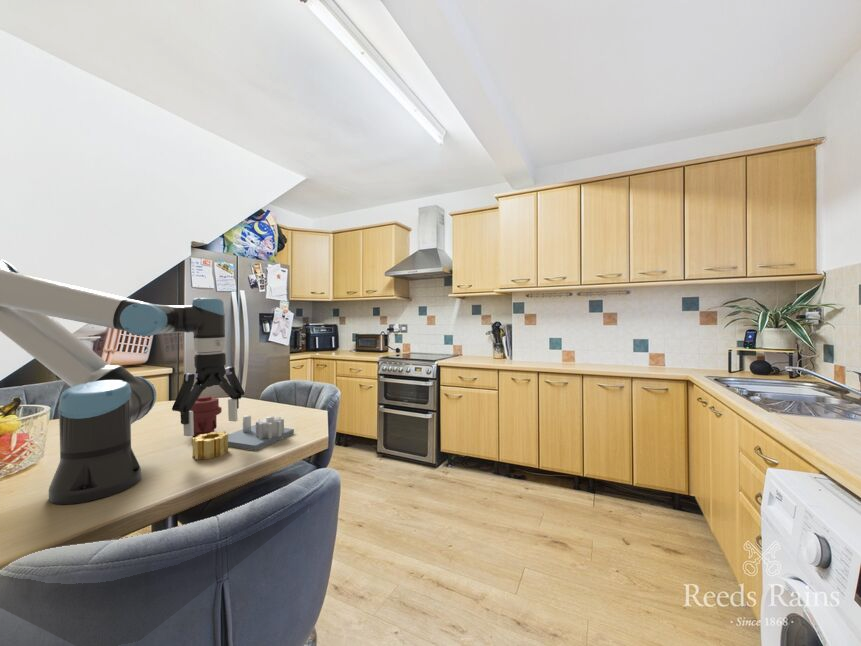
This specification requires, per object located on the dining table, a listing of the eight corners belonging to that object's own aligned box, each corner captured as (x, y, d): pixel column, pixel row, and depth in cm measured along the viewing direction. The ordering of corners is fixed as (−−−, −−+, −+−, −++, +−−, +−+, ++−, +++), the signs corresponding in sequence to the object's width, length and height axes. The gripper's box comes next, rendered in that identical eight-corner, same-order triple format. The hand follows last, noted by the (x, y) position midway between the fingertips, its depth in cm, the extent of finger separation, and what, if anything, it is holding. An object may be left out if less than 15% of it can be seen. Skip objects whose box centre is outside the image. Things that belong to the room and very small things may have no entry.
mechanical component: (201, 428, 122) (228, 429, 121) (178, 438, 112) (207, 439, 111) (201, 393, 122) (228, 394, 121) (177, 400, 112) (206, 400, 111)
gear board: (257, 451, 101) (257, 426, 101) (214, 444, 107) (214, 421, 107) (295, 433, 116) (295, 412, 116) (256, 428, 122) (256, 408, 122)
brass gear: (207, 461, 94) (207, 443, 94) (185, 457, 97) (185, 439, 97) (235, 450, 102) (234, 433, 102) (213, 446, 105) (213, 430, 105)
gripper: (174, 358, 86) (177, 444, 86) (255, 349, 110) (257, 416, 110) (153, 357, 88) (156, 441, 89) (237, 348, 112) (239, 414, 112)
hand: (212, 427), depth 99 cm, fingers open, 13 cm apart
